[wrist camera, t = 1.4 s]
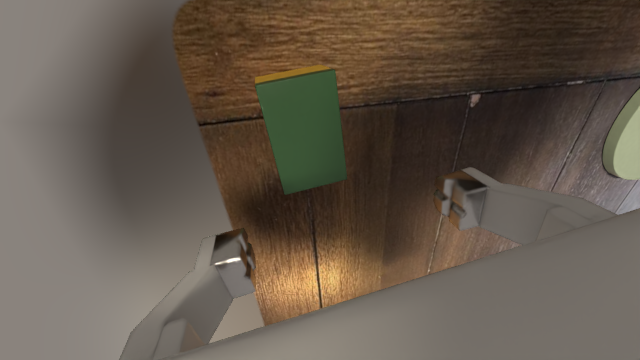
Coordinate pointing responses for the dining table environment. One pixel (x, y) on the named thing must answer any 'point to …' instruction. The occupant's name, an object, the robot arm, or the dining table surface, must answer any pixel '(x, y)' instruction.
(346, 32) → the dining table surface
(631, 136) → the plate
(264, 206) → the dining table surface
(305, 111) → the sponge
